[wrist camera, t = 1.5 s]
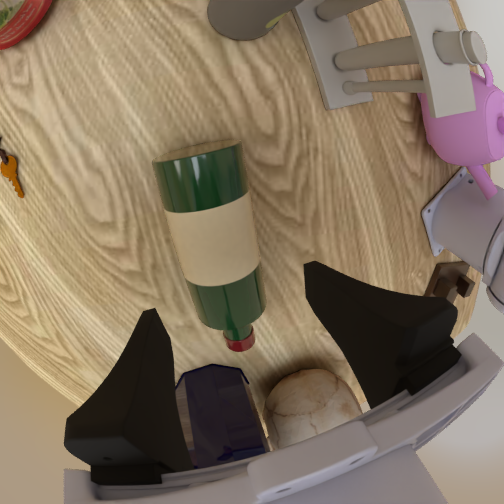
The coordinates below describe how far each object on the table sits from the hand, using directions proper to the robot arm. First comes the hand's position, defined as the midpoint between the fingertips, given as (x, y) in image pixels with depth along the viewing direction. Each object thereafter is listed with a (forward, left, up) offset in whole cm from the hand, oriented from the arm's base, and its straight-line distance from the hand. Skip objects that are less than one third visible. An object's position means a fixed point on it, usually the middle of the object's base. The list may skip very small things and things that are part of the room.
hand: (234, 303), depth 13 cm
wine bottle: (+1, +2, -10) cm, 10 cm away
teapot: (-25, +7, -10) cm, 28 cm away
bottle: (+14, +15, -10) cm, 23 cm away
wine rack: (-15, +33, -10) cm, 37 cm away
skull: (+9, +28, -10) cm, 31 cm away
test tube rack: (-19, -12, -10) cm, 25 cm away
